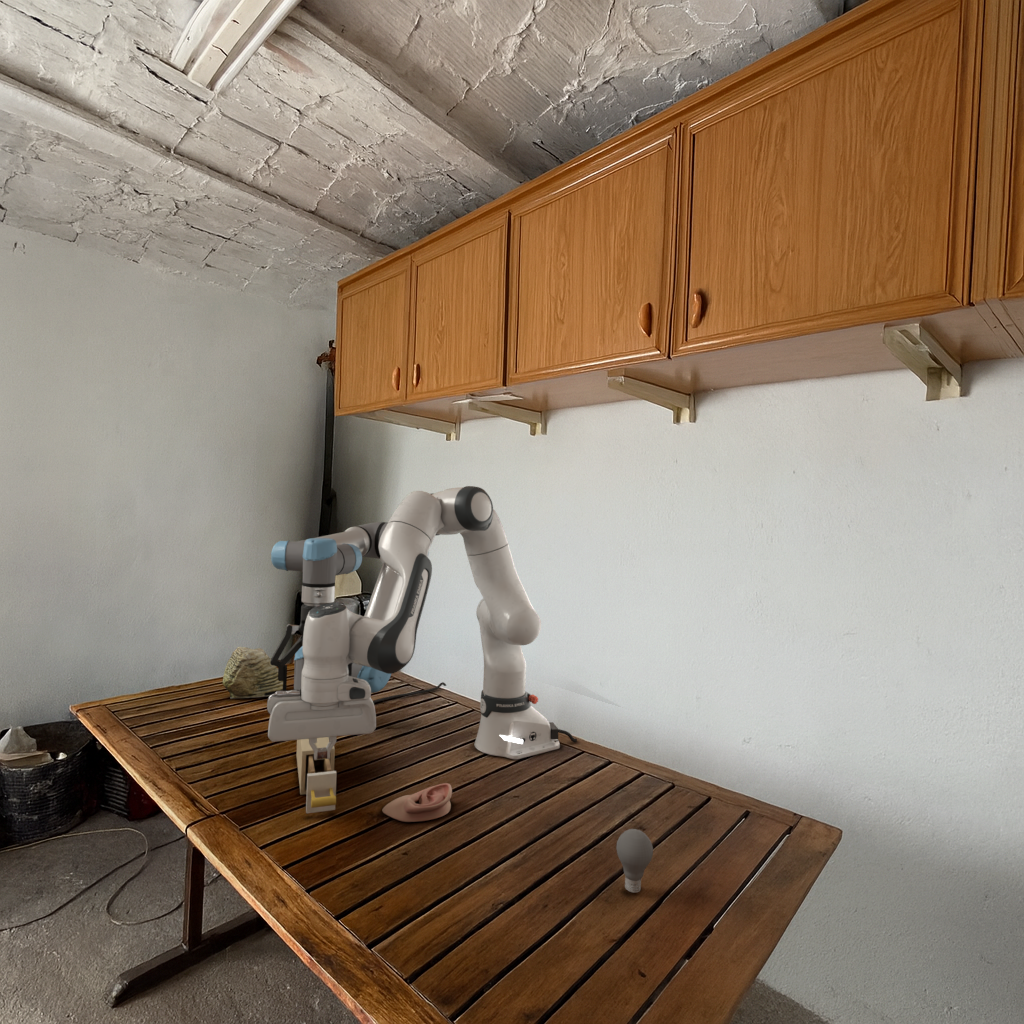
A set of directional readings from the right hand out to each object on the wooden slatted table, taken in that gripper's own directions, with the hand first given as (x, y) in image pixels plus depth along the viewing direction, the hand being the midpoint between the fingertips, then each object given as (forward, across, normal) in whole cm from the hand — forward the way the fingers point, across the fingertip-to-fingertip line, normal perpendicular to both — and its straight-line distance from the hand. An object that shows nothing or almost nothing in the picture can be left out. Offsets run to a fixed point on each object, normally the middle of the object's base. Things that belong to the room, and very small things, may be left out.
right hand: (321, 758), depth 124 cm
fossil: (+12, -14, +84) cm, 86 cm away
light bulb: (+12, +48, -38) cm, 62 cm away
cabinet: (+12, 0, +23) cm, 26 cm away
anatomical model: (+12, +19, -1) cm, 23 cm away
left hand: (-4, 0, +29) cm, 29 cm away
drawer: (+11, 0, +9) cm, 15 cm away
